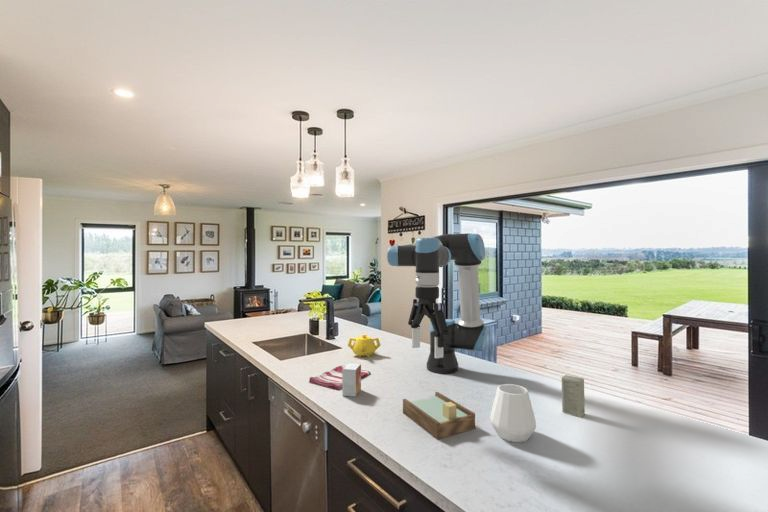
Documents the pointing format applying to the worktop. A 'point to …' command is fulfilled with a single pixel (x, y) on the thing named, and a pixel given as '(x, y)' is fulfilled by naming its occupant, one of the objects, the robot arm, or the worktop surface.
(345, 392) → the small box
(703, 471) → the worktop surface
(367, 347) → the yellow sugar bowl
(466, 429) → the wooden tray
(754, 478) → the worktop surface
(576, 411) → the skincare box
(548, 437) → the worktop surface
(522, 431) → the white ceramic vase
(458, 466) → the worktop surface
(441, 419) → the cover plate
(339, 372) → the dish towel
